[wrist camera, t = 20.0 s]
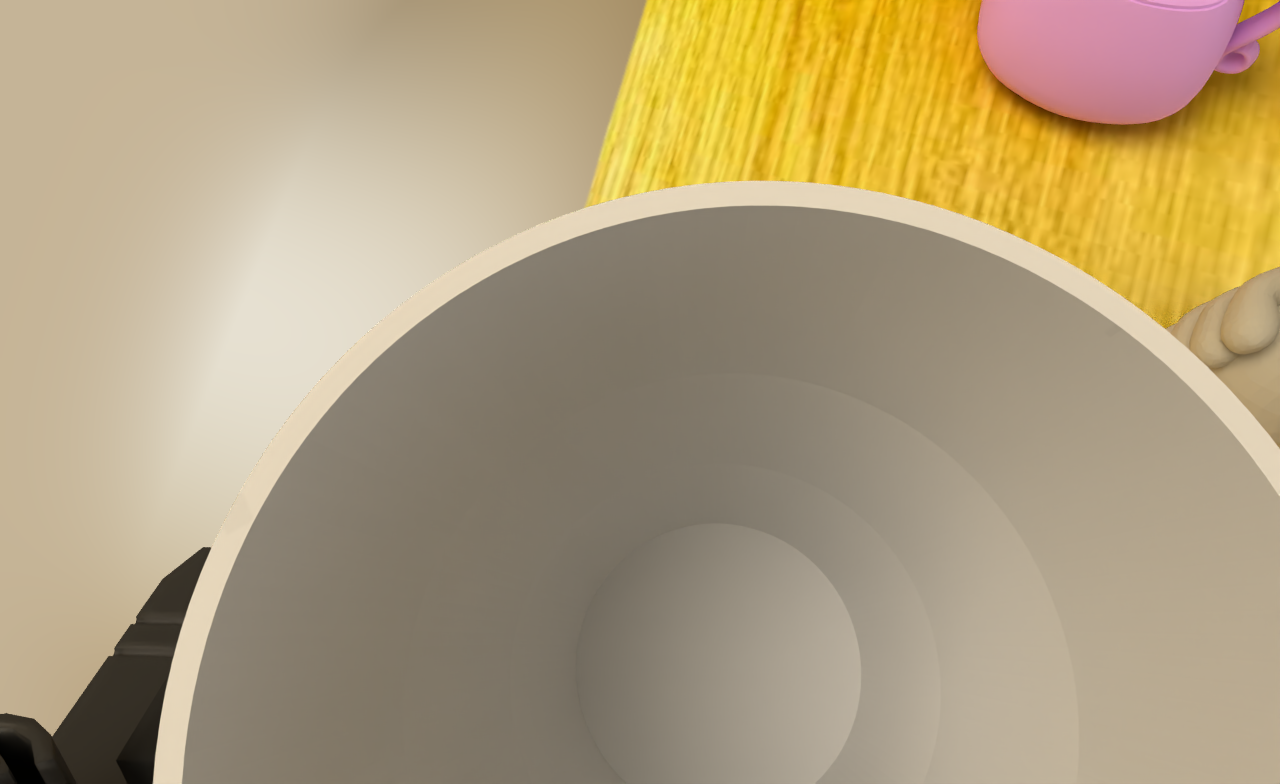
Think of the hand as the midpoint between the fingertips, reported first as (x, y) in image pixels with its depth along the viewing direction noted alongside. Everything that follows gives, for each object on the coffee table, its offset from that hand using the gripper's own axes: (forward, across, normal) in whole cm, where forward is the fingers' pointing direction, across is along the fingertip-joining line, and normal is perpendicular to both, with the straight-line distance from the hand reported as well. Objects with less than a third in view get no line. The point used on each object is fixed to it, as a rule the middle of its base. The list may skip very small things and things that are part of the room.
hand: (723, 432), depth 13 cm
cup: (0, 0, -5) cm, 5 cm away
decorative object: (+35, +28, -21) cm, 50 cm away
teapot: (+51, +23, -5) cm, 56 cm away
